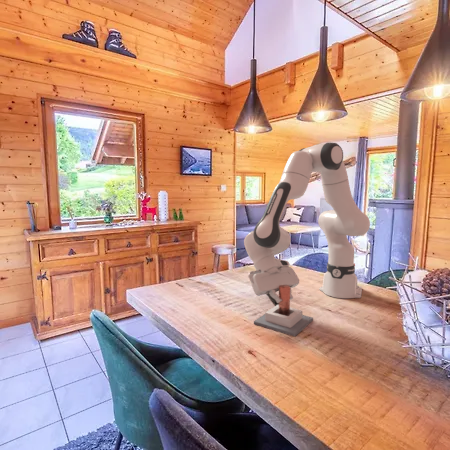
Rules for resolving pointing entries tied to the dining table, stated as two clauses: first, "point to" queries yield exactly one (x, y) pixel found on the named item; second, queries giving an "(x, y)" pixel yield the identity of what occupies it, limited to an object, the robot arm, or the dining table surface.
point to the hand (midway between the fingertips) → (285, 300)
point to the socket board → (285, 329)
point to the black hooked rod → (273, 299)
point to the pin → (284, 300)
